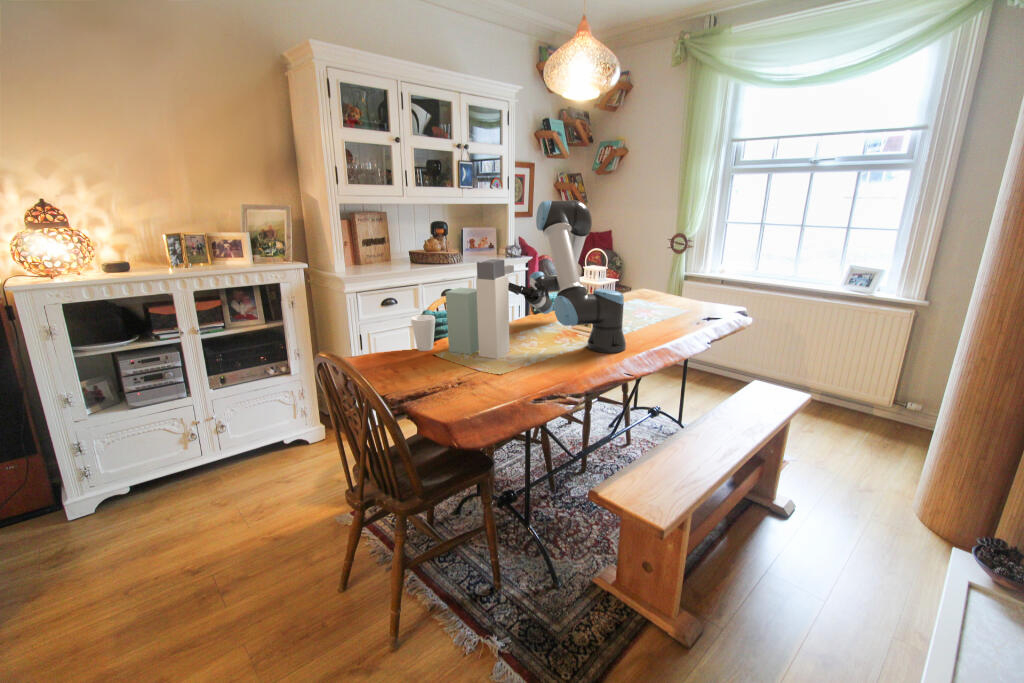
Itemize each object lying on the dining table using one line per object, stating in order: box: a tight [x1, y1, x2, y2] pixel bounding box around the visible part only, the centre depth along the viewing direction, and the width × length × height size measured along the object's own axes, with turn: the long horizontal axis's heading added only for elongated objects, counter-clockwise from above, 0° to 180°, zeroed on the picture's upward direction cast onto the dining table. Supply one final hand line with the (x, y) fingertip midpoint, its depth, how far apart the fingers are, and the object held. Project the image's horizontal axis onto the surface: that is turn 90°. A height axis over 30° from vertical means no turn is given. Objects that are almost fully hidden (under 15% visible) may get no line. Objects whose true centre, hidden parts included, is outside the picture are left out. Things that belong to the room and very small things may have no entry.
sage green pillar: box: [445, 287, 479, 355], centre depth 186 cm, size 10×10×24 cm
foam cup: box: [410, 314, 436, 352], centre depth 190 cm, size 10×9×13 cm
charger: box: [482, 258, 515, 279], centre depth 180 cm, size 5×18×6 cm, turn 153°
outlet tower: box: [475, 261, 511, 360], centre depth 179 cm, size 8×10×36 cm
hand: (515, 279), depth 193 cm, fingers open, 13 cm apart
